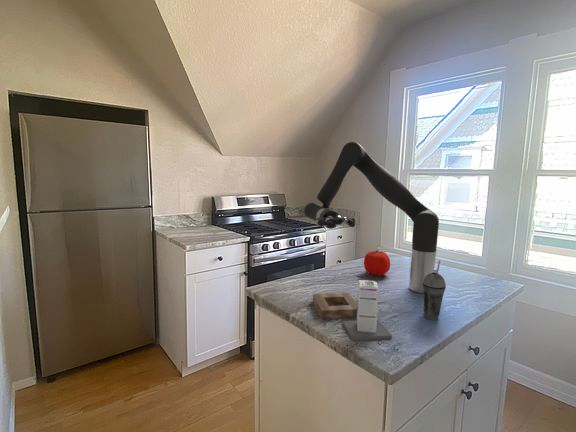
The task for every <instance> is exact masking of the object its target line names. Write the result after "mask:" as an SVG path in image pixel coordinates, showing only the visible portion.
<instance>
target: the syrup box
mask: <svg viewBox="0 0 576 432" xmlns="http://www.w3.org/2000/svg"><path fill="white" fill-rule="evenodd" d="M377 282H378V281H377V280H370V279H358V283H357V284H358V285H357V303H358V305H357V318H356V321H357V331H362V332H371V333H376V325H377V320H378V301H379V300H378V298H379V287H378V283H377Z"/></svg>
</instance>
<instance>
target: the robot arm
mask: <svg viewBox="0 0 576 432" xmlns="http://www.w3.org/2000/svg"><path fill="white" fill-rule="evenodd" d="M353 167H354V168H355V169H357V170H358V171H360V172H361V173H362V174H363V175H364V176H365V177H366V180H368V182H369V183H370V184H371V186H372V187H373V188H374V189H375V190H376V191H377V192H378V193H379V194H380V196H381V197H383V199H385V200H386V201H388V202H389V203H390V204H392V205H394V206H395V207H397V208H398V209H400V210H401V211H402V212H403V213H405V214H406V215H407V217H408V218H410V220H411V221H412V222H413V224H412V239H411V240H412V241H411V243H412V244H411V258H410V268H409V281H408V289H409V290H411V291H412V292H415V293H420V294H424V290H423V284H422V283H423V280H424V278H425V276H426V275H428V274H429V273H436V272H437V268H436V259H437V258H436V255H437V249H438V248H437V247H438V238H439V224H440V221H439V217H438V215H437V214H436V212H434V211H433V210H431V209H430V208H429V207H427V206H425V205H424V204H423V203H421V201H419V200H418V199H417V198H416V197H415V196H414V195H413V194H412V192H411V191H410V190H409V189H408V188H407V187H406V186H405V185H404V184H403V183H402V182H401V181H400V180H399V179H397V177H396V176H395V175H394V174H393V173H392V172H390V171H389V170H388V169H386V168H385V167H384V166H382V165H380V164H379V163H378V162H376V161H375V160H374V158H372V157H371V156H370V154H369V153H368V152H367V151H366V149H365V148H364V147H363V146H362V145H361V144H359V143H358V142H355V141H349V142H347V143H345V144H344V145H343V147H342V149H341V151H340V153H339V155H338V158H337V161H336V163H335V165H334V167H333V169H332V170H331V172H330V174H329V176H328V177H327V180H326V181H325V183H324V184H323V186H322V187H321V188H320V191H319V192H318V194H317V196H316V198H317V200H318V201H319V202H320V203H321V204H322V206H320V205H318V204H316V203H315V202H309V203H307V204H306V205H305V207H304V209H303V213H304V216H305V217H307V218H309V219H311V220H313V221H314V222H316V225H317V226H319V227H321V228H322V227H324V228H327V229H330V230H332V229H335V228H337V227H339V226H340V227H346V226H347V227H351V228H355V225H356V219H355V218H353V217H350V216H341V215H340V214H339V212H338V211H335V210H333V209H330V206H331V204H332V201H333V200H334V199H335V197H336V196H337V194H338V192H339V191H340V189H341V187H342V183H343V181H344V179H345V177H346V176H347V174H348V173H349V171H350V170H351V168H353Z"/></svg>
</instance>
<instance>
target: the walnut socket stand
mask: <svg viewBox="0 0 576 432" xmlns="http://www.w3.org/2000/svg"><path fill="white" fill-rule="evenodd" d="M312 303H313V305H314V307H315V309H316V311H317V313H318V315H319V317H320V319H321V320H331V319H333V320H335V319H352V318H353V319H355V318H356V319H357V305H358V301H356V300H355V299H354V297H353V296H352V295H351V293H350V292H338V293H337V292H336V293H333V292H331V293H312Z"/></svg>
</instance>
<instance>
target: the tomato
mask: <svg viewBox="0 0 576 432" xmlns="http://www.w3.org/2000/svg"><path fill="white" fill-rule="evenodd" d="M379 250H380V249H377V250H370V251H368V252H367V253H366V254H365V256H364V257H363V258H364V259H363V266H364V269H365V272H366V273H368V274H369V275H372V276H377V277H378V276H383V275H385V274H387V273H388V272H389V271H390V268H391V259H390V257H389V256H388V254H387V252H385V251H382V250H380V251H379Z"/></svg>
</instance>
